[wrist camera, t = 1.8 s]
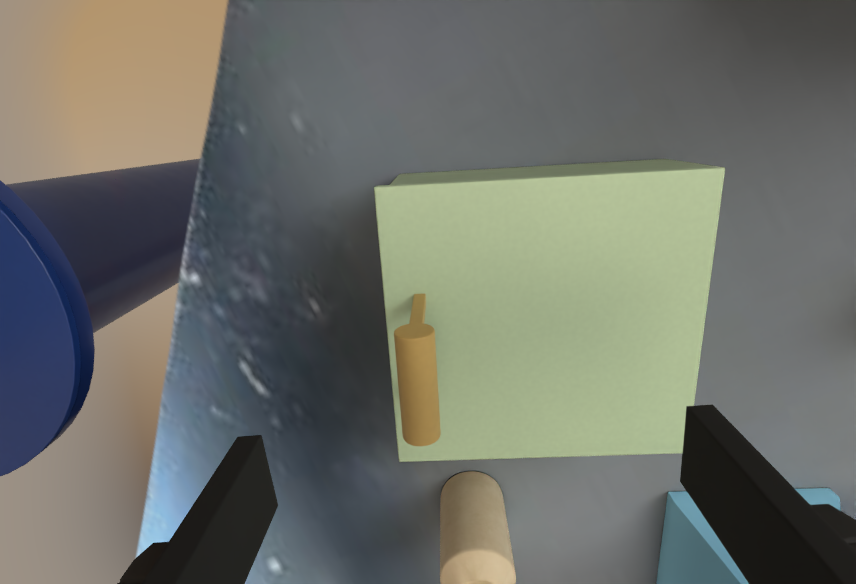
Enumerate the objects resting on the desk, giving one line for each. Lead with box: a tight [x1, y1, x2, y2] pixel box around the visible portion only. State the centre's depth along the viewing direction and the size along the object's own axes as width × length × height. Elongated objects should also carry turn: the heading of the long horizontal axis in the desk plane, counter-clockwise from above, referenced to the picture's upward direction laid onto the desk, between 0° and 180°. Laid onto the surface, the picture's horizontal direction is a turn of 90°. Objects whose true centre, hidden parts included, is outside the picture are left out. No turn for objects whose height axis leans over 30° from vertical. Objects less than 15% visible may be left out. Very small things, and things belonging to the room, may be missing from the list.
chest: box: [390, 159, 717, 185], centre depth 34 cm, size 19×19×7 cm
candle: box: [440, 471, 516, 584], centre depth 39 cm, size 6×6×10 cm
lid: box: [374, 167, 725, 462], centre depth 27 cm, size 19×19×8 cm
